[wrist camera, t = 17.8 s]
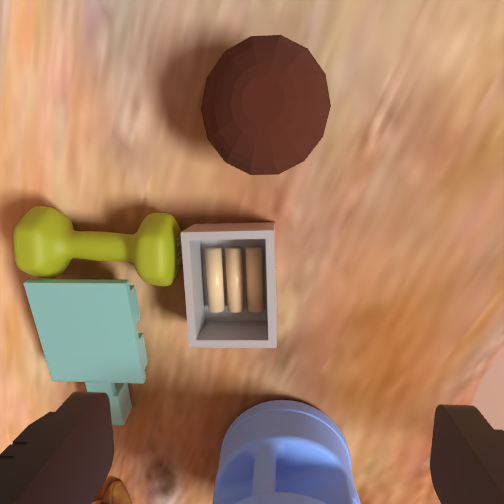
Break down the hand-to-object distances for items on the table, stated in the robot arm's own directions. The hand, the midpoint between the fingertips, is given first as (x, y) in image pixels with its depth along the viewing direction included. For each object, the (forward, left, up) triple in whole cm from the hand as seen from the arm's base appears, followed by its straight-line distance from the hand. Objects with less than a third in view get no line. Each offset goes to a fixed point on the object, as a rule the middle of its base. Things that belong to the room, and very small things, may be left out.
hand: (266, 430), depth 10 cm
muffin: (-11, -1, -35) cm, 36 cm away
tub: (+5, -5, -34) cm, 35 cm away
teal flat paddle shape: (+13, -21, -33) cm, 41 cm away
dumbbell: (+1, -19, -35) cm, 39 cm away
